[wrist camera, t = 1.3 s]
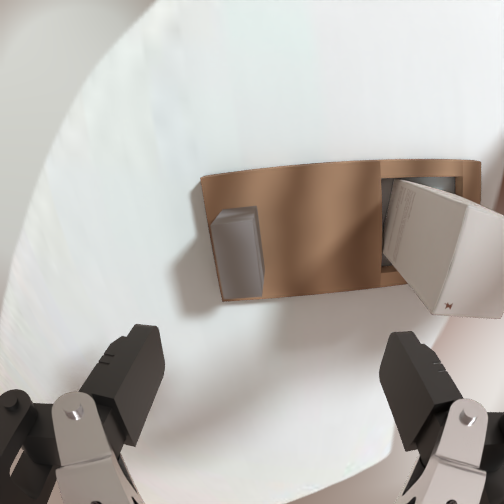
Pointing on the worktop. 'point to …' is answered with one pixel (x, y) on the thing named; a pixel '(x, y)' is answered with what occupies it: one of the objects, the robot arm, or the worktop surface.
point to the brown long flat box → (311, 224)
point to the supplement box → (446, 250)
